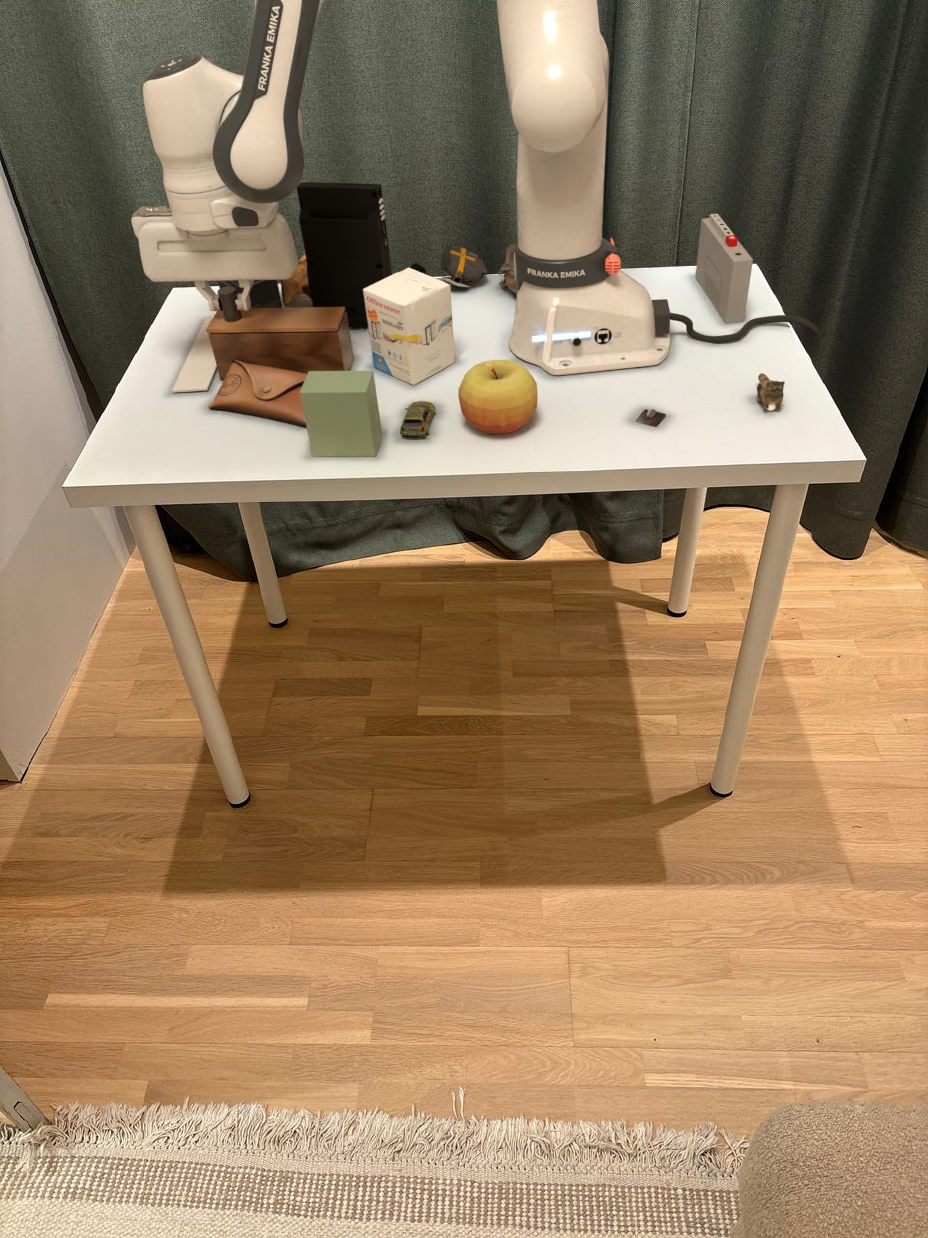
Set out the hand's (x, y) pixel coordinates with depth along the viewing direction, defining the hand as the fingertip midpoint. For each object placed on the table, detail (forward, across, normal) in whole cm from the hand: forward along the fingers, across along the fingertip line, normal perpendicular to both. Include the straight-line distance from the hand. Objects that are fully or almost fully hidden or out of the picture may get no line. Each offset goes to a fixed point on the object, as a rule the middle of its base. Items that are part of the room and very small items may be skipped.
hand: (231, 309), depth 130 cm
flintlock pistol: (+8, +44, +27) cm, 53 cm away
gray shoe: (+5, +29, +30) cm, 42 cm away
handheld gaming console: (+9, +14, +13) cm, 21 cm away
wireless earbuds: (+7, +18, +26) cm, 33 cm away
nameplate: (+9, -7, +5) cm, 12 cm away
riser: (+9, +18, -19) cm, 28 cm away
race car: (+9, +27, -14) cm, 32 cm away
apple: (+9, +37, -14) cm, 41 cm away
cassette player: (+9, +67, +20) cm, 71 cm away
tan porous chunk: (+5, 0, +22) cm, 22 cm away
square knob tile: (+9, +56, -13) cm, 58 cm away
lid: (+2, +6, 0) cm, 6 cm away
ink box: (+9, +24, +1) cm, 26 cm away
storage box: (+9, +6, 0) cm, 11 cm away
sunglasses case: (+9, +7, -10) cm, 15 cm away
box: (+9, 0, +8) cm, 12 cm away
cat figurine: (+9, +71, -9) cm, 72 cm away
